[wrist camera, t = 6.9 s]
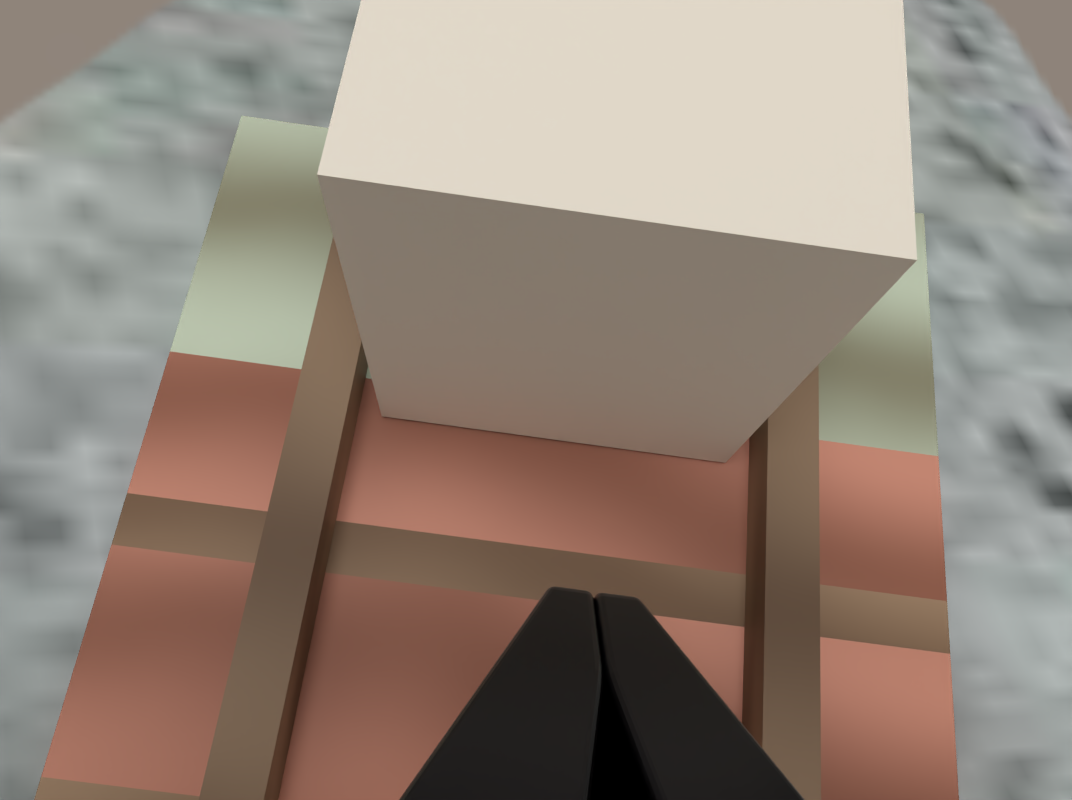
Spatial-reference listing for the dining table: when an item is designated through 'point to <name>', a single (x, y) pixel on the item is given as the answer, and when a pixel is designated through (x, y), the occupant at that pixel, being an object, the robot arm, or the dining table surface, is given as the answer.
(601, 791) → the robot arm
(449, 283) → the cream block
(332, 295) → the board
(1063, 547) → the dining table surface
